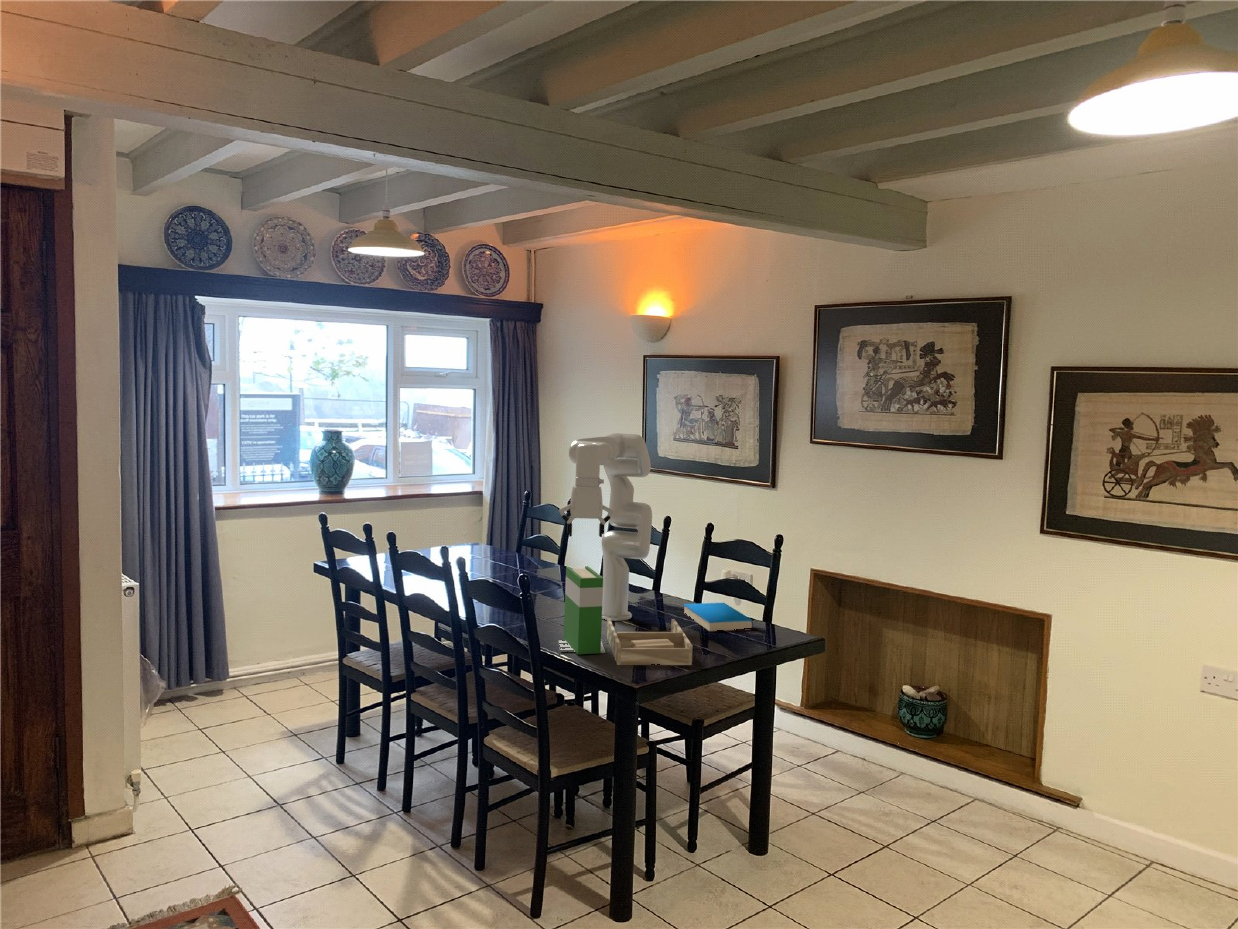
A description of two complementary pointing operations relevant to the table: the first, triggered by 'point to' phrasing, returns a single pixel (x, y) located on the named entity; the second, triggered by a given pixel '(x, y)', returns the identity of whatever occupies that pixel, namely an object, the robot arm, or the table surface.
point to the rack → (649, 656)
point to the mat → (572, 648)
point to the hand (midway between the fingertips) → (585, 536)
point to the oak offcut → (652, 643)
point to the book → (717, 616)
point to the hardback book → (583, 610)
